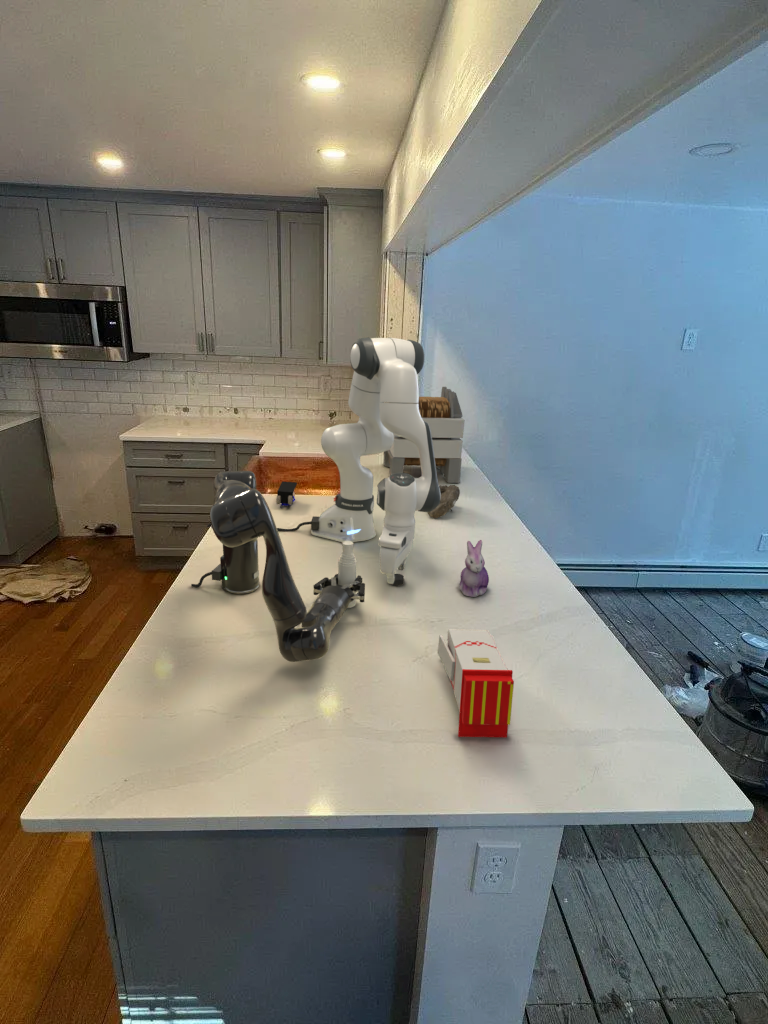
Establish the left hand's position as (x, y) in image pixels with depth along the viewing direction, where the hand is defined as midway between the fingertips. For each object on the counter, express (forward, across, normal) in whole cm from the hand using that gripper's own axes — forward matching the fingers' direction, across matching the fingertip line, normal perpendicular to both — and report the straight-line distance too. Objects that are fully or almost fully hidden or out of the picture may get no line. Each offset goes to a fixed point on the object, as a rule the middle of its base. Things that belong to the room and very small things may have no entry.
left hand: (349, 577), depth 152 cm
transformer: (+131, +4, +6) cm, 131 cm away
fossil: (+81, -14, +7) cm, 82 cm away
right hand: (+13, -10, +4) cm, 17 cm away
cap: (+14, -10, +5) cm, 18 cm away
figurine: (+16, -32, +7) cm, 36 cm away
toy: (-30, -36, +7) cm, 47 cm away
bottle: (-3, 0, +7) cm, 7 cm away
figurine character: (+66, +46, +7) cm, 81 cm away
